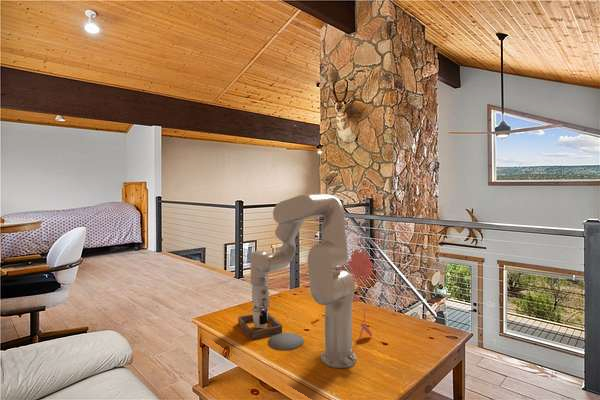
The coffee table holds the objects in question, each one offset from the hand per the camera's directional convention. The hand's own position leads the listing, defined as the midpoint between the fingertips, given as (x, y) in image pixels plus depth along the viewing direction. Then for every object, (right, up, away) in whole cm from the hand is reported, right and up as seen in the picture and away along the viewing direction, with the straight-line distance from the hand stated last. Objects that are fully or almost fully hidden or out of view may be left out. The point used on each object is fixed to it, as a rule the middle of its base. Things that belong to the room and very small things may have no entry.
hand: (260, 320), depth 146 cm
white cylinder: (0, -2, 0) cm, 2 cm away
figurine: (+43, -4, -4) cm, 43 cm away
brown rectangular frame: (0, -3, 0) cm, 3 cm away
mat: (+12, -4, -12) cm, 17 cm away
